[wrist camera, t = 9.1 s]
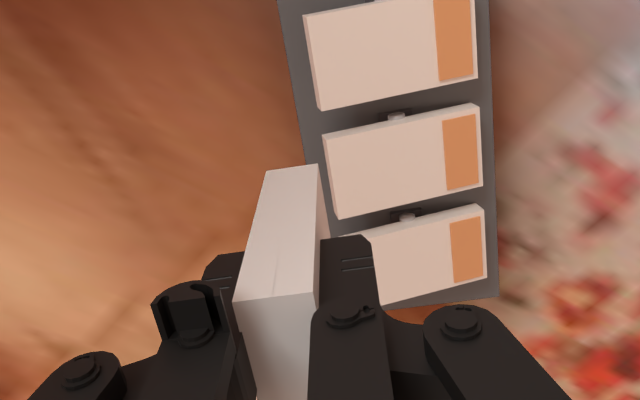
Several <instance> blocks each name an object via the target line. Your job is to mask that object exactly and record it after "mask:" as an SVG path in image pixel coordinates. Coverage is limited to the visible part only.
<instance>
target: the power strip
mask: <svg viewBox="0 0 640 400" xmlns="http://www.w3.org/2000/svg"><path fill="white" fill-rule="evenodd" d="M374 1H375V0H277V5H278V11H279V16H280V22H281V27H282V33H283V39H284V44H285V50H286V55H287V61H288V66H289V72H290V78H291V83H292V89H293V94H294V100H295V105H296V111H297V117H298V122H299V128H300V133H301V139H302V144H303V150H304V156H305V161H306V165H310V164H316V163H318V167H319V172H320V178H321V184H322V190H323V196H324V202H325V207H326V213H327V219H328V225H329V231H330V237H331V238H335V237H339V236H343V235H347V234H351V233H355V232H359V231H363V230H367V229H371V228H375V227H379V226H383V225H388V224H392V223H396V222H400V221H399V216H400V215H401V214H403V213H408V212H409V213H413V214H415V218H416V217H420V216H424V215H428V214H432V213H436V212H441V211H445V210H449V209H453V208H457V207H461V206H465V205H469V204H473V203H476V204H477V205H479V206H480V207H481V208H482V209H484V219H485V241H486V263H487V278H484V279H480V280H477V281H473V282H469V283H465V284H462V285H458V286H454V287H450V288H446V289H443V290H439V291H435V292H431V293H428V294H424V295H420V296H416V297H412V298H409V299H405V300H401V301H397V302H394V303H390V304H386V305H382V306H381V307H382V309H383V311H386V310H394V309H402V308H410V307H419V306H427V305H435V304H443V303H451V302H459V301H467V300H475V299H483V298H491V297H499V271H498V243H497V216H496V188H495V160H494V133H493V105H492V77H491V50H490V22H489V0H474V1H475V23H476V45H477V67H478V78H476V79H472V80H467V81H462V82H458V83H453V84H448V85H443V86H439V87H434V88H429V89H425V90H420V91H415V92H411V93H406V94H401V95H397V96H392V97H387V98H383V99H378V100H373V101H369V102H364V103H359V104H355V105H350V106H345V107H341V108H336V109H331V110H327V111H321V110H320V109H319V108H318V107H317V102H316V96H315V90H314V84H313V78H312V72H311V66H310V60H309V54H308V48H307V41H306V35H305V29H304V23H303V17H302V15H306V14H311V13H316V12H322V11H327V10H332V9H337V8H343V7H348V6H353V5H358V4H364V3H369V2H374ZM470 102H471V103H473V104H475V105H477V106H479V107H480V129H481V151H482V172H483V186H481V187H476V188H472V189H468V190H464V191H459V192H455V193H451V194H447V195H442V196H438V197H434V198H430V199H426V200H421V201H417V202H413V203H409V204H404V205H400V206H396V207H392V208H387V209H383V210H379V211H375V212H370V213H366V214H362V215H358V216H353V217H349V218H345V219H341V220H338V218H337V216H336V214H335V213H334V207H333V201H332V195H331V189H330V183H329V177H328V171H327V164H326V158H325V152H324V146H323V140H322V134H327V133H332V132H336V131H341V130H346V129H350V128H355V127H359V126H364V125H369V124H373V123H378V122H383V121H387V120H388V115H389V114H391V113H396V112H403V113H405V117H406V116H410V115H415V114H420V113H424V112H429V111H433V110H438V109H443V108H447V107H452V106H457V105H461V104H466V103H470Z"/></svg>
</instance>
